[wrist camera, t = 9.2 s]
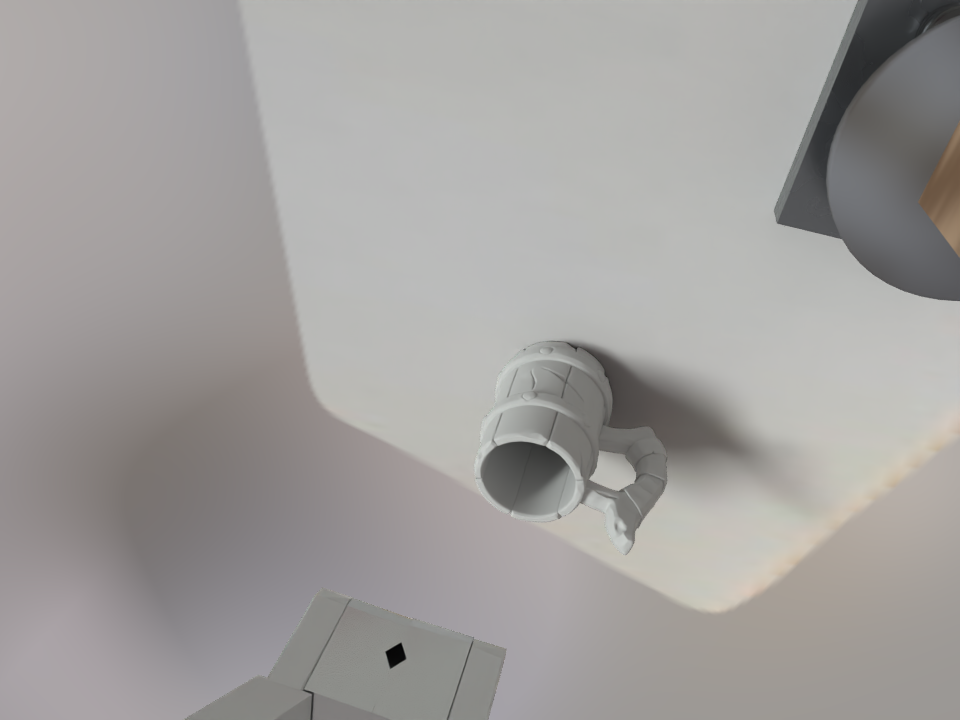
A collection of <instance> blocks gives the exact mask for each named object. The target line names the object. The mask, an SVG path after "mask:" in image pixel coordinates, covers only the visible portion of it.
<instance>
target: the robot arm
mask: <svg viewBox="0 0 960 720" xmlns="http://www.w3.org/2000/svg"><path fill="white" fill-rule="evenodd" d="M473 640H474V642H473ZM505 655H506V649H505V648H502V647H499V646H495V645H492V644H489V643H485V642H482V641H479V640H476V639H474V637H471V636H468V635H464V634H461V633H458V632H455V631H452V630H449V629H446V628H442V627H439V626H436V625H433V624H430V623H426V622H423V621H420V620H417V619H411V618H408V617H405V616H402V615H399V614H397V613H394V612H391V611H388V610H385V609H382V608H379V607H376V606H374V605H371V604H368V603H365V602H362V601H360V600H357V599H354V598H352V597H349V596H346V595H343V594H340V593H337V592H334V591H331V590H328V589H325V588H322V589H321V590H320V591H319V592H318V593H317V594H316V595H315V596H314V598H313V599H312V601H311V603H310V605H309V607H308V608H307V610H306V611H305V613H304V615H303V617H302V619H301V620H300V622H299V624H298V625H297V627H296V629H295V631H294V632H293V634H292V636H291V638H290V639H289V641H288V643H287V645H286V646H285V648H284V650H283V651H282V653H281V655H280V657H279V658H278V660H277V662H276V664H275V665H274V667H273V669H272V671H271V672H270V674H269V676H268V677H264V676H261V675H257V676H256V677H254V678H253V679H251V680H249V681H248V682H246V683H244V684H242V685H241V686H239V687H237V688H236V689H234V690H232V691H231V692H229V693H227V694H226V695H224V696H222V697H220V698H219V699H217V700H215V701H214V702H212V703H210V704H209V705H207V706H205V707H204V708H202V709H201V710H199V711H197V712H196V713H194V714H192V715H190V716H189V717H187V718H185V719H184V720H488V719H489V715H490V711H491V707H492V704H493V700H494V696H495V693H496V689H497V685H498V682H499V678H500V674H501V671H502V667H503V663H504V659H505Z"/></svg>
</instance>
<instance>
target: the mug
mask: <svg viewBox="0 0 960 720" xmlns="http://www.w3.org/2000/svg"><path fill="white" fill-rule="evenodd" d="M604 372H605V370H604V368H603V367H602V365H601V364H600V363H599V362H598V360H597V359H596V358H595V357H593V356H592V355H591V354H589V353H588V352H587V351H585V350H584V349H582V348H579V347H578V348H577V350H576V349H574V348H572V347H571V346H570V345H569V344H567V343H565V342H553V341H546V342H539V343H536V344H533V345H531V346H529V347H527V348H526V350H525V349H523V350H521V351H520V352H519V353H518V354H517V355H516V356H515V357H514V358H512V359H511V360H510V361H509V362H508V363H507V364H506V365H505V367H504V368H503V370H502V371H501V372H500V373H499V375H498V378H497V381H498V382H497V384H496V388H495V405H494V407H493V408H492V409H491V410H490V412H489V413H488V415H486V416H485V417H484V418H483V421H482V425H481V434H480V444H481V445H480V448H479V450H478V453H477V456H476V459H475V465H474V474H475V478H476V479H475V481H476V484H477V487H478V489H479V490H480V492H481V494H482V495H483V496H484V498H485V499H486V500H487V501H488V502H489V503H490V504H491V505H492V506H494V507H495V508H496V509H498V510H499V511H501V512H503V513H505V514H509V513H510V512H511V513H510V514H511V516H512V517H513V518H515V519H519V520H523V521H528V522H550V521H554V520H557V519H560V518H561V517H562V516H566V515H567V514H569V513H571V512H572V511H573V510H574V509H575V508H576V507H577V506H578V505H579V503H581V504H584V505H586V506H588V507H590V508H592V509H595V510H598V511H601V512H603V513H604V514H605V528H606V531H607V533H608V535H609V537H610V539H611V541H612V543H613V545H614V546H615V547H616V549H617V550H618V551H619V552H620V553H622V554H623V555H627V554H628V553H629V551H630V550H631V548H632V546H633V544H634V541H635V531H636V529H637V528H639V526H640V524H641V522H642V521H643V519H644V518H645V516H646V515H647V514H648V512H649V511H650V510H651V509H652V508H653V506H654V505H655V503H656V502H657V500H658V499H659V498H660V496H661V495H662V494H663V492H664V489H665V487H666V484H667V472H666V469H667V466H666V462H667V454H666V450H665V448H664V446H663V443H662V442H661V441H660V440H659V439H657V438H656V435H655V433H654V431H653V429H652V428H650V427H648V426H644V427H638V428H634V429H618V428H611V427H608V424H609V420H610V417H611V413H612V406H613V398H612V392H611V388H610V385H609V380H608V377H605V375H604ZM599 450H602V451H607V452H613V453H621V454H625V455H626V459H627V460H628V461H629V462H630V464H631V465H632V466H633V468H634V470H635V472H636V479H635V483H634V484H630V485H629V486H627V487H625V488H623V489H621V490H620V491H615V490H612V489H609V488H606V487H604V486H601V485H599V484H597V483H594V482H592V481H591V480H589V478H590V477H591V475H593V473H594V471H595V469H596V467H597V460H598V455H599Z"/></svg>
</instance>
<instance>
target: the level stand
mask: <svg viewBox="0 0 960 720" xmlns="http://www.w3.org/2000/svg"><path fill="white" fill-rule="evenodd" d="M959 15H960V0H858V2H857V5H856V7H855V10H854V12H853V15H852V17H851V20H850V22H849V25H848V27H847V30H846V32H845V35H844V37H843V40H842V42H841V45H840V47H839V50H838V52H837V55H836V57H835V60H834V62H833V65H832V67H831V70H830V72H829V75H828V77H827V80H826V82H825V85H824V87H823V90H822V92H821V95H820V97H819V100H818V102H817V104H816V107H815V109H814V112H813V114H812V117H811V119H810V122H809V124H808V127H807V129H806V132H805V134H804V137H803V139H802V142H801V144H800V147H799V149H798V152H797V154H796V157H795V159H794V162H793V164H792V167H791V169H790V172H789V174H788V177H787V179H786V182H785V184H784V187H783V189H782V192H781V194H780V197H779V199H778V202H777V204H776V207H775V209H774V213H775V217H776V221H777V223H778V224H782V225H786V226H790V227H794V228H798V229H803V230H807V231H811V232H815V233H819V234H823V235H827V236H832V237H836V238H840V239H842V238H841V236H840V233H839V231H838V229H837V226H836V224H835V221H834V219H833V217H832V214H831V211H830V207H829V202H828V198H827V187H826V173H827V161H828V157H829V152H830V147H831V143H832V141H833V138H834V135H835V132H836V129H837V127H838V125H839V123H840V121H841V119H842V117H843V115H844V113H845V111H846V109H847V107H848V106H849V104H850V102H851V101H852V99H853V98H854V96H855V95H856V93H857V92H858V90H859V89H860V88H861V87H862V86H863V84H864V83H865V82H866V81H867V80H868V78H869V77H870V76H871V75H872V74H873V73H874V72H875V71H876V70H877V69H878V68H879V67H880V66H881V65H882V64H883V63H884V62H885V61H886V60H887V59H888V58H889V57H890V56H892V55H893V54H894V53H895V52H897V51H898V50H899V49H900V48H902V47H903V46H904V45H905V44H907V43H908V42H910V41H911V40H913V39H914V38H916V37H918V36H919V35H921V34H922V33H924V32H925V31H927V30H929V29H931V28H933V27H935V26H937V25H939V24H941V23H943V22H945V21H947V20H949V19H951V18H954V17H956V16H959Z"/></svg>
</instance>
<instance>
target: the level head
mask: <svg viewBox="0 0 960 720" xmlns="http://www.w3.org/2000/svg"><path fill="white" fill-rule="evenodd" d="M826 187H827V198H828V202H829V207H830V211H831V214H832V217H833V219H834V221H835V224H836V226H837V229H838V231H839V233H840V236H841V238H842V239H843V241H844V243H845V244H846V246H847V247H848V249H849V251H850V252H851V253H852V254H853V256H854V257H855V258H856V259H857V260H858V261H859V263H860V264H861V265H863V266H864V267H865V268H866V269H867V270H868V271H870V272H871V273H872V274H873V275H875V276H876V277H878V278H879V279H881V280H883V281H884V282H886V283H887V284H889V285H892V286H894V287H896V288H898V289H900V290H903V291H905V292H909V293H912V294H915V295H918V296H922V297H927V298H933V299H938V300H951V301H960V15H959V16H956V17H954V18H951V19H949V20H947V21H945V22H943V23H941V24H939V25H937V26H935V27H933V28H931V29H929V30H927V31H925V32H924V33H922V34H921V35H919V36H918V37H916V38H914V39H913V40H911V41H910V42H908V43H907V44H905V45H904V46H903V47H902V48H900V49H899V50H898V51H897V52H895V53H894V54H893V55H892V56H890V57H889V58H888V59H887V60H886V61H885V62H884V63H883V64H882V65H881V66H880V67H879V68H878V69H877V70H876V71H875V72H874V73H873V74H872V75H871V76H870V77H869V78H868V80H867V81H866V82H865V83H864V84H863V86H862V87H861V88H860V89H859V90H858V92H857V93H856V95H855V96H854V98H853V99H852V101H851V102H850V104H849V106H848V107H847V109H846V111H845V113H844V115H843V117H842V119H841V121H840V123H839V125H838V127H837V129H836V132H835V135H834V138H833V141H832V143H831V147H830V152H829V157H828V161H827V173H826Z"/></svg>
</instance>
